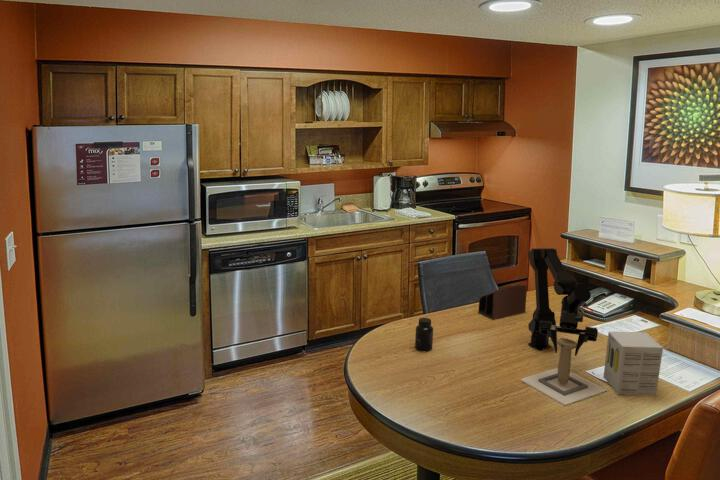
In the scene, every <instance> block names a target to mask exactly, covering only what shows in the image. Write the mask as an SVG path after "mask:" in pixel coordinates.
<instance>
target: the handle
mask: <svg viewBox="0 0 720 480" xmlns="http://www.w3.org/2000/svg"><path fill="white" fill-rule="evenodd" d="M557 346H558V347H560V353H559V361H558V364H557V368H558V382H559V383H560V384H566V383H568V378H569V375H570V372H571V365H572V351H573V350H576V347H577V342H576V341H574V340H573V339H568V338H564V337H560V338H557Z"/></svg>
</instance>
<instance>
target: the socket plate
mask: <svg viewBox="0 0 720 480" xmlns="http://www.w3.org/2000/svg"><path fill="white" fill-rule="evenodd" d="M519 381H520V382H522V383H524V384H526V385H527V386H529V387H531V388H532V389H534V390H536V391H538V392H539V393H541V394H543V395H545V396H547V397H548V398H550V399H552V400H554V402H557V403H558V404H560V403H561V404H560V405H562V404H563V405H562V406H564V405H565V406H564V407H566V405H567V406H569V405H568V404H570V405H572V404H571V403H573V404H575V403H574V402H576V403H578V402H577V401H579V402H581V401H584V400H586V398H587V399H589V398H588V397H590V398H592V397H591V396H593V397H595V396H594V395H596V396H598V395H597V394H599V393H602V394H604V393H603V392H605V391H607V392H608V390H607V389H606V388H604V387H601V386H600V385H598V384H595V383H593V382H591V381H590V380H587V379H586V378H583V377H582V376H579V375H577V374H575V373H574V372H571V371H570V375H569V378H568V383H566V384H560V383H559V382H558V367H555V368H552V369H549V370H546V371H543V372H539V373H535V374H532V375H529V376H526V377H522V378H520V379H519ZM605 393H606V392H605ZM599 395H600V394H599ZM583 399H584V400H583ZM580 400H581V401H580Z"/></svg>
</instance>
